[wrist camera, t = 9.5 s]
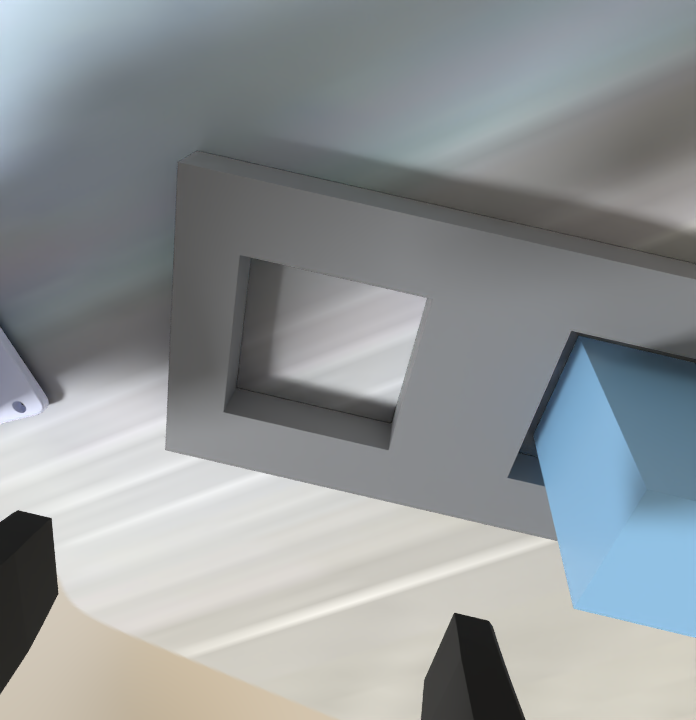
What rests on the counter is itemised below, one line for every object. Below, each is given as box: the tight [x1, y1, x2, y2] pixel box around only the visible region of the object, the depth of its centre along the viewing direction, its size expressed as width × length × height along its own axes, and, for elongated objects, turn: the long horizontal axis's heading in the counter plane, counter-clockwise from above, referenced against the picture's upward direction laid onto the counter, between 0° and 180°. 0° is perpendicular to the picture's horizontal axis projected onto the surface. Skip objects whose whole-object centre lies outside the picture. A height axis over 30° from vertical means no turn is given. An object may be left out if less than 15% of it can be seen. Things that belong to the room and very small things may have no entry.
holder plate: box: [165, 151, 696, 541], centre depth 19 cm, size 10×19×2 cm, turn 79°
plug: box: [533, 336, 696, 638], centre depth 17 cm, size 4×4×7 cm
